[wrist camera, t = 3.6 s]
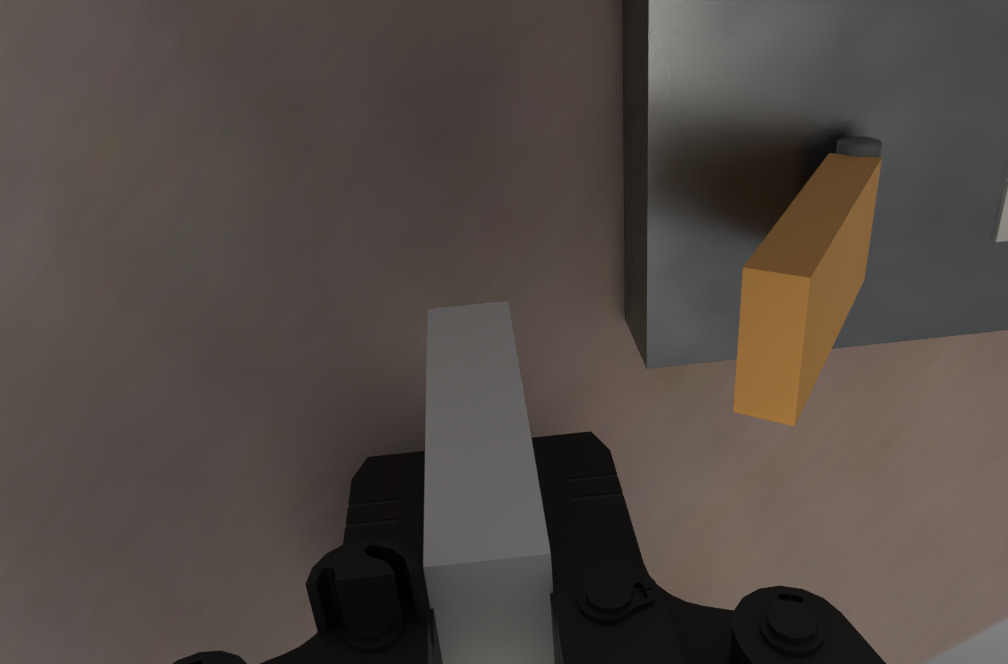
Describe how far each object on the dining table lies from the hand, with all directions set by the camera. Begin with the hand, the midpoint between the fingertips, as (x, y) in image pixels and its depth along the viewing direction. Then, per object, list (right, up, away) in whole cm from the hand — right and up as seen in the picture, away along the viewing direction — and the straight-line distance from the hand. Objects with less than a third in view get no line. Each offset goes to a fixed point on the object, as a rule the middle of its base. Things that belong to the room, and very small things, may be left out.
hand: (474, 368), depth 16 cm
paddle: (+9, +4, +5) cm, 11 cm away
